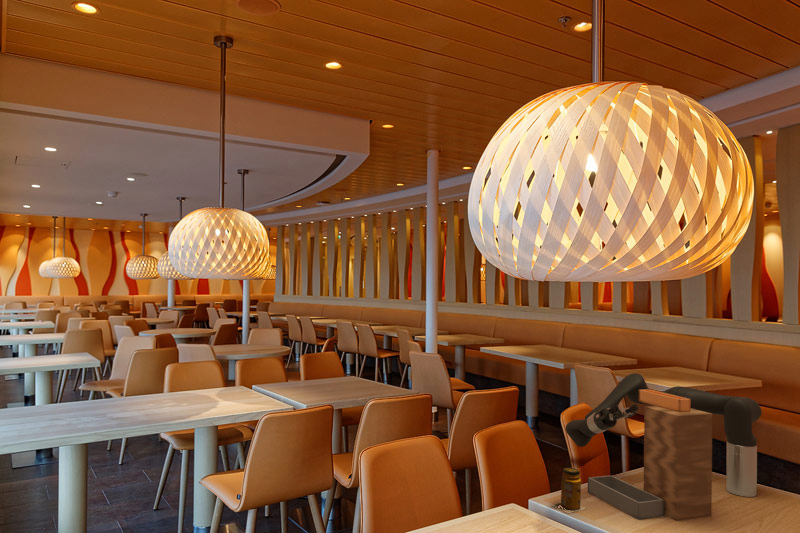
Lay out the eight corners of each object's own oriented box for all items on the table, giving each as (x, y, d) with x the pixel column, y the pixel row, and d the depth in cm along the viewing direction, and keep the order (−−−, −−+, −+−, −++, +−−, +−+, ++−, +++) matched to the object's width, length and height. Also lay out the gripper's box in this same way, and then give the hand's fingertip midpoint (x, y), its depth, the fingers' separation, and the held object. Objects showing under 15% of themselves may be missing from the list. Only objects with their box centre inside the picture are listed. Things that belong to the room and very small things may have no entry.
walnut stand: (643, 504, 190) (644, 406, 191) (676, 500, 194) (677, 404, 196) (676, 520, 177) (677, 415, 178) (711, 516, 181) (712, 413, 182)
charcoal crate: (587, 492, 200) (587, 477, 200) (611, 489, 203) (611, 475, 203) (638, 519, 177) (638, 503, 177) (664, 516, 180) (664, 500, 180)
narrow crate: (638, 401, 200) (638, 389, 200) (649, 400, 202) (649, 389, 202) (679, 412, 183) (679, 399, 183) (690, 411, 185) (690, 399, 185)
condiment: (586, 508, 185) (586, 471, 185) (568, 513, 180) (569, 475, 180) (568, 501, 191) (568, 464, 191) (550, 506, 186) (551, 468, 186)
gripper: (583, 412, 221) (608, 397, 208) (613, 410, 225) (639, 396, 212) (589, 431, 217) (615, 418, 204) (619, 429, 222) (647, 416, 209)
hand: (627, 407), depth 208 cm, fingers open, 8 cm apart
